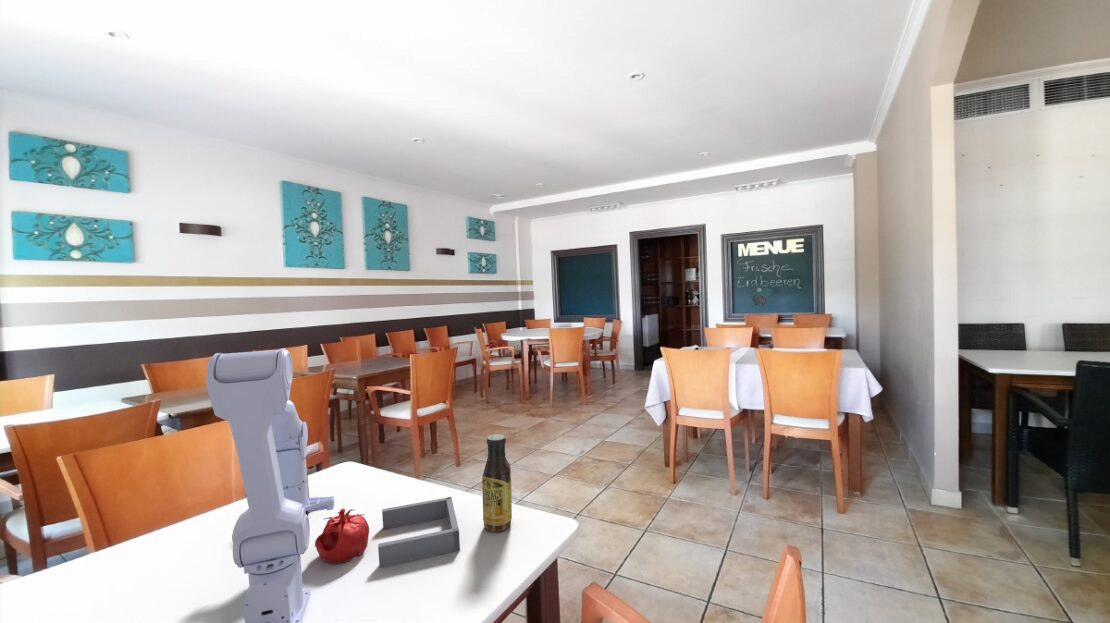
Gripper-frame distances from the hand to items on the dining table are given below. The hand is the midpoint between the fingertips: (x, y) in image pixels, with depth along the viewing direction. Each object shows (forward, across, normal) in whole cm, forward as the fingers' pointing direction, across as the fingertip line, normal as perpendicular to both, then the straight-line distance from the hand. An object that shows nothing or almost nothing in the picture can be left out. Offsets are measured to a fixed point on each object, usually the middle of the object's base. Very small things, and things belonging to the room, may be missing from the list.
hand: (295, 551), depth 87 cm
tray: (+2, -23, 0) cm, 23 cm away
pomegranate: (+3, -9, 0) cm, 9 cm away
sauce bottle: (+3, -40, +2) cm, 40 cm away
